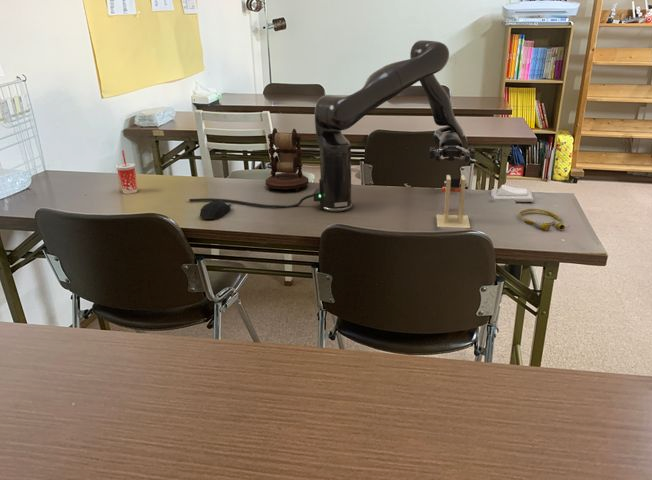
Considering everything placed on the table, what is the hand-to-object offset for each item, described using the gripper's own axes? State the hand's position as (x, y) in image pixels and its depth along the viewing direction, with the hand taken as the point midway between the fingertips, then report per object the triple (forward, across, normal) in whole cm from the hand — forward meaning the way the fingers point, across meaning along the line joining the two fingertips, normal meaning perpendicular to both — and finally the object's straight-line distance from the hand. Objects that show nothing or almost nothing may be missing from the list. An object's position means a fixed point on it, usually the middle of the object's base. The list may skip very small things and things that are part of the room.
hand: (452, 158), depth 171 cm
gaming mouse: (+17, -70, +13) cm, 74 cm away
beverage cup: (-1, -107, +13) cm, 108 cm away
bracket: (+21, 0, +14) cm, 25 cm away
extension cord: (+16, +25, +14) cm, 33 cm away
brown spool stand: (-11, -55, +14) cm, 58 cm away
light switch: (-6, +20, +14) cm, 25 cm away
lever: (+17, 0, +5) cm, 18 cm away
